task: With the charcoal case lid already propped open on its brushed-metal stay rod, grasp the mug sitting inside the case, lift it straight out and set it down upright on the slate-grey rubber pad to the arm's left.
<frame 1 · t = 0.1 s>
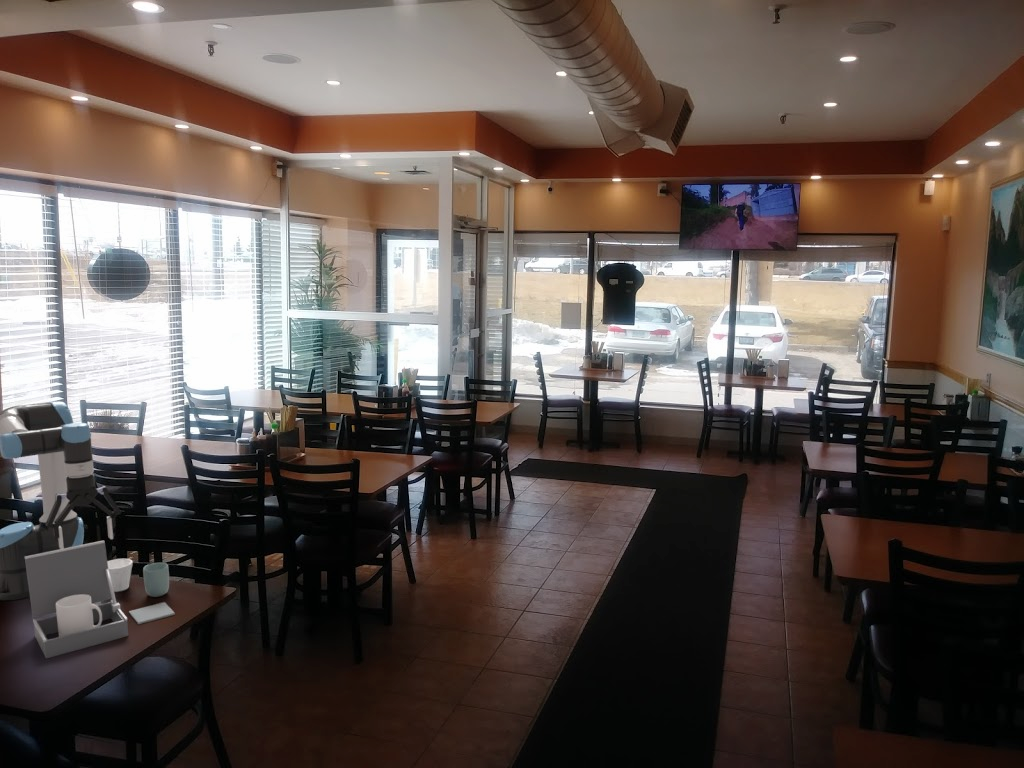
hand: (86, 543, 246), 28 cm above the table, fingers open, 13 cm apart
light bulb box: (82, 612, 264), on the table
pad: (151, 613, 261), on the table
case: (81, 636, 246), on the table
cup: (157, 595, 277), on the table
lid: (69, 578, 252), point 15 cm above the table, hinge at 100.0°
cup 2: (119, 589, 282), on the table
mug: (81, 637, 246), resting in case
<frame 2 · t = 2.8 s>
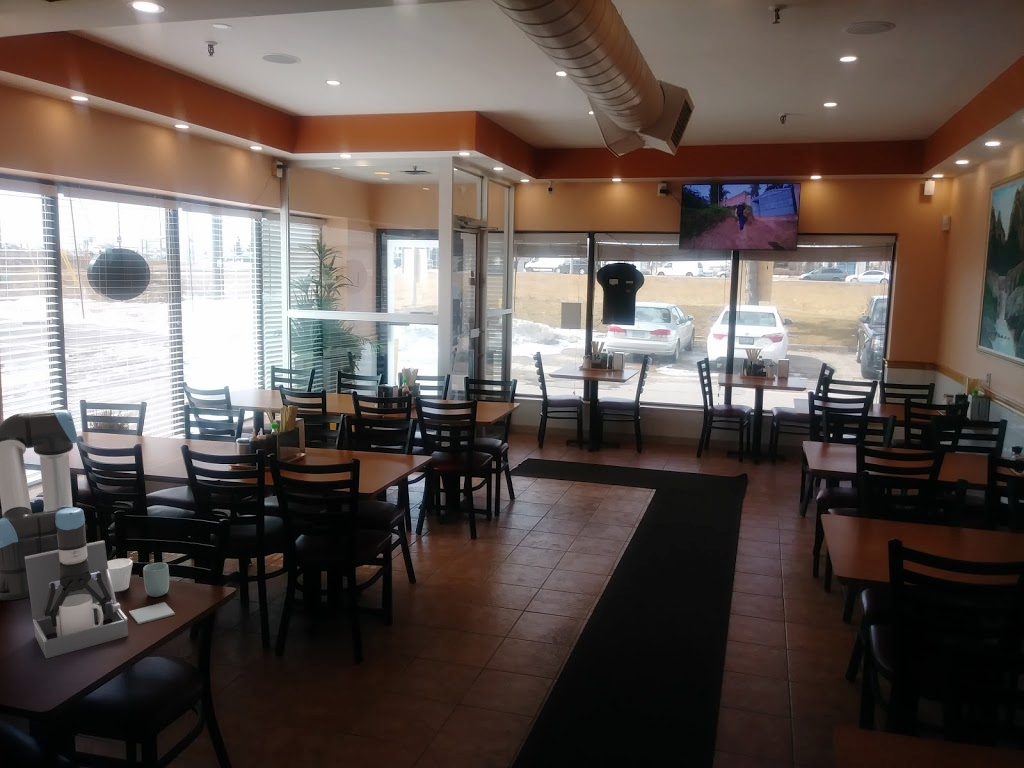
hand: (80, 630, 245), 2 cm above the table, fingers closed on mug, 11 cm apart
mug: (83, 636, 246), resting in case, touching gripper
everything else where it was.
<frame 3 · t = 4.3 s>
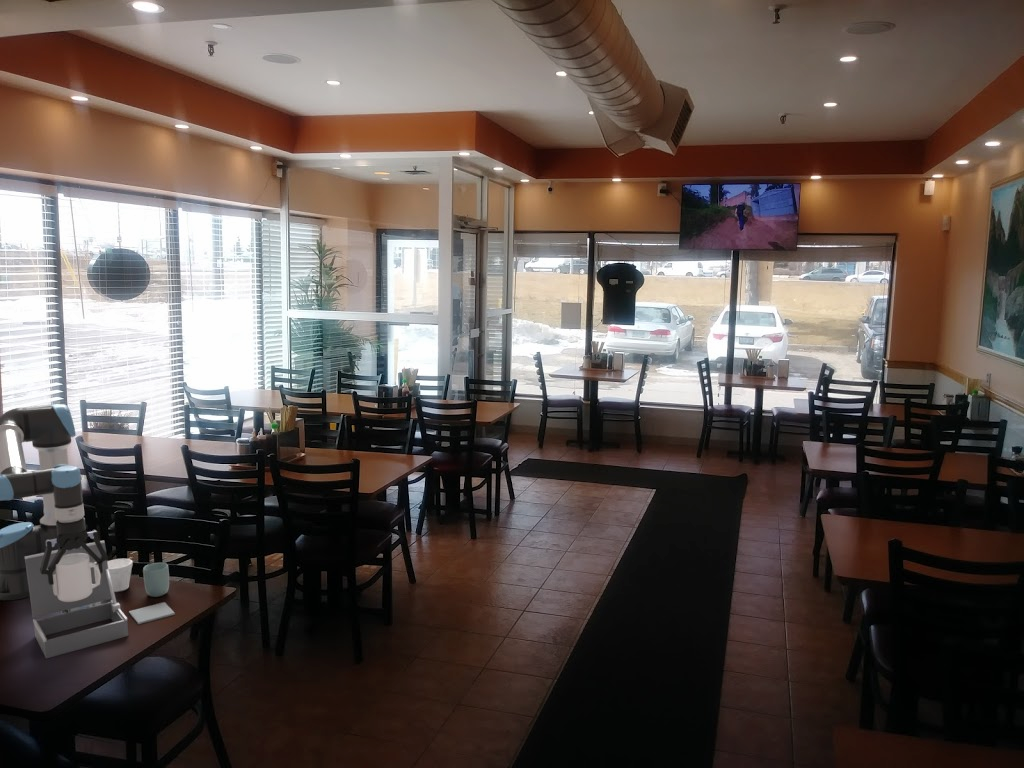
hand: (77, 588, 244), 15 cm above the table, fingers closed on mug, 11 cm apart
mug: (80, 595, 245), point 13 cm above the table, touching gripper
everything else where it was.
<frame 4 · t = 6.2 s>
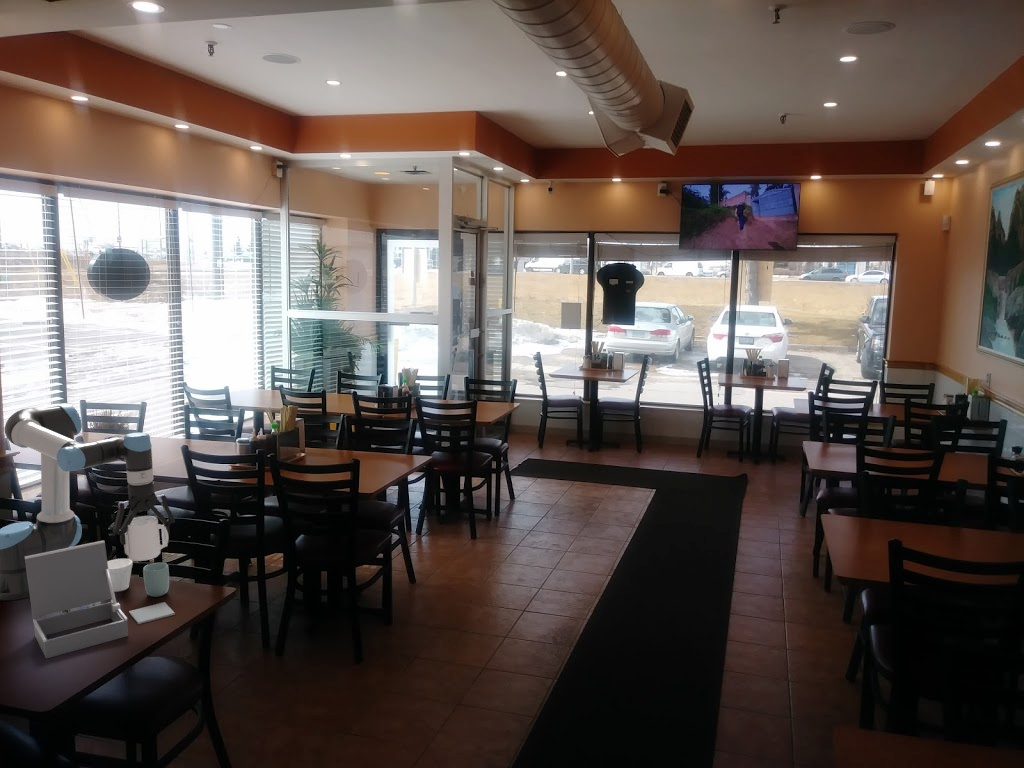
hand: (146, 549, 258), 22 cm above the table, fingers closed on mug, 11 cm apart
mug: (149, 556, 259), point 19 cm above the table, touching gripper
everything else where it was.
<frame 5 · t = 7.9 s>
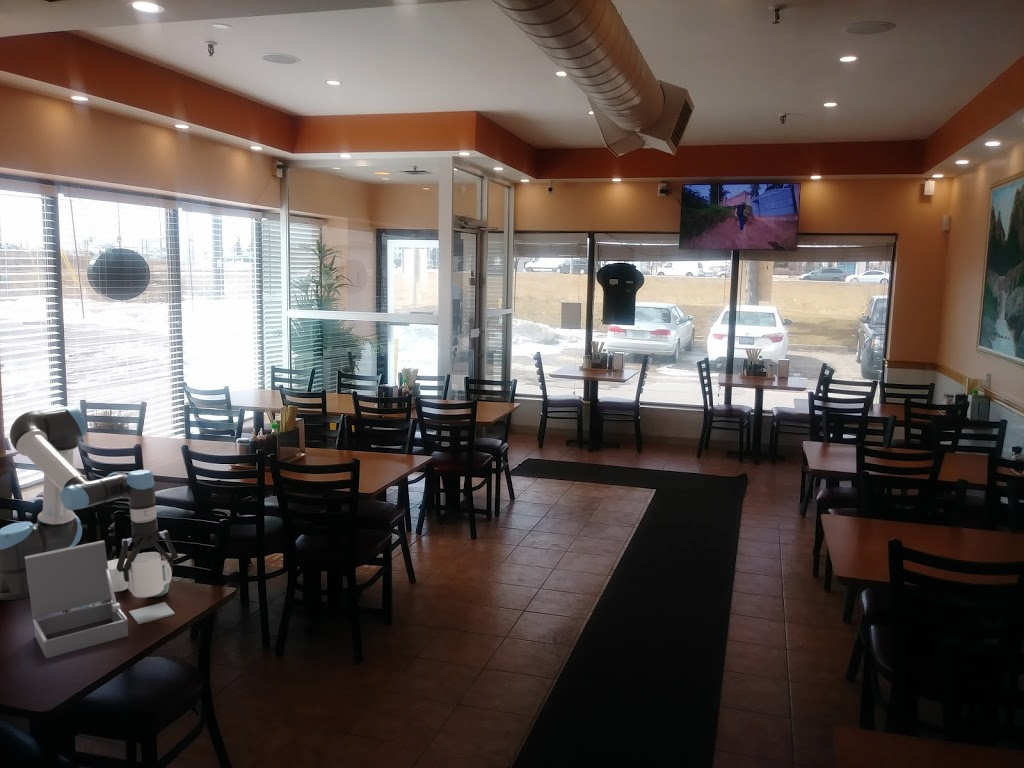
hand: (149, 585, 260), 10 cm above the table, fingers closed on mug, 11 cm apart
mug: (152, 592, 261), point 7 cm above the table, touching gripper
everything else where it was.
when the fingers open (3 cm above the table, at t = 9.5 s): mug stays where it is, resting on pad.
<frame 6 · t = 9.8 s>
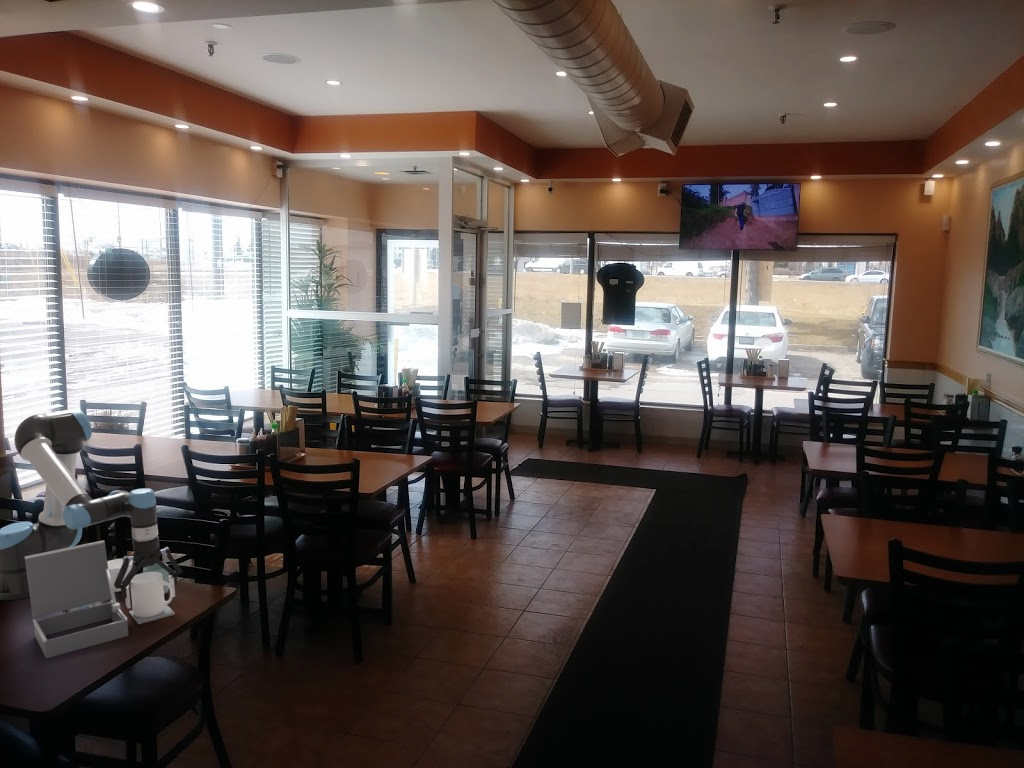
hand: (150, 601, 261), 4 cm above the table, fingers open, 13 cm apart
mug: (153, 612, 262), resting on pad
everything else where it was.
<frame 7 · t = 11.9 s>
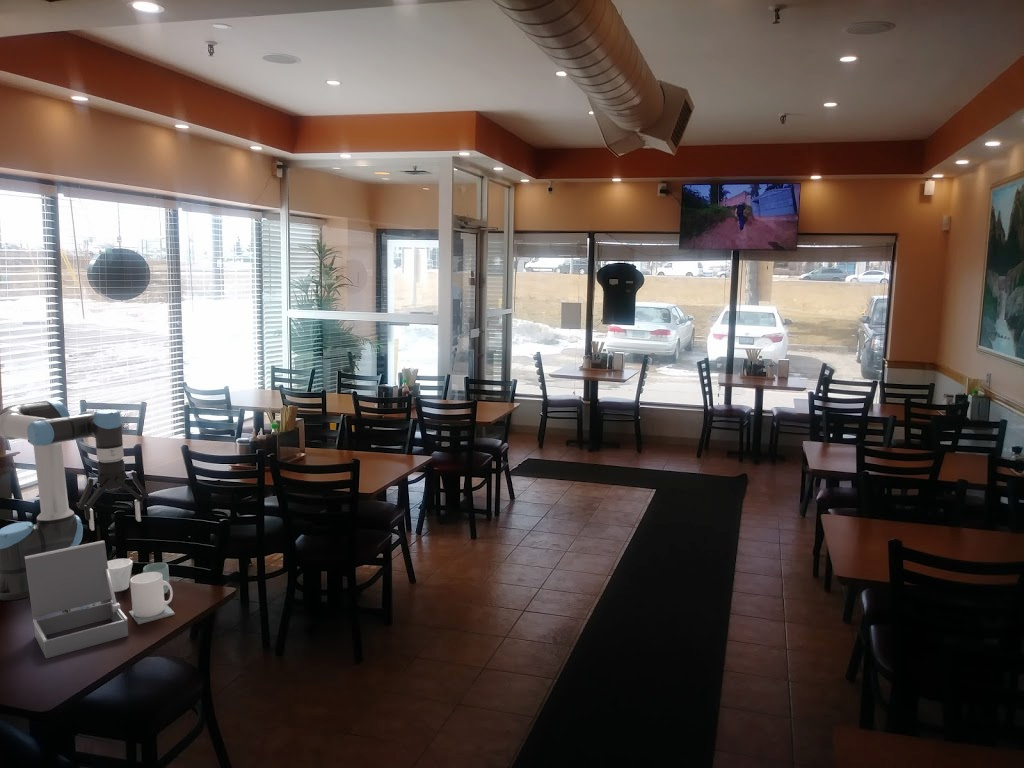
hand: (115, 524, 257), 30 cm above the table, fingers open, 13 cm apart
nothing on the table moved.
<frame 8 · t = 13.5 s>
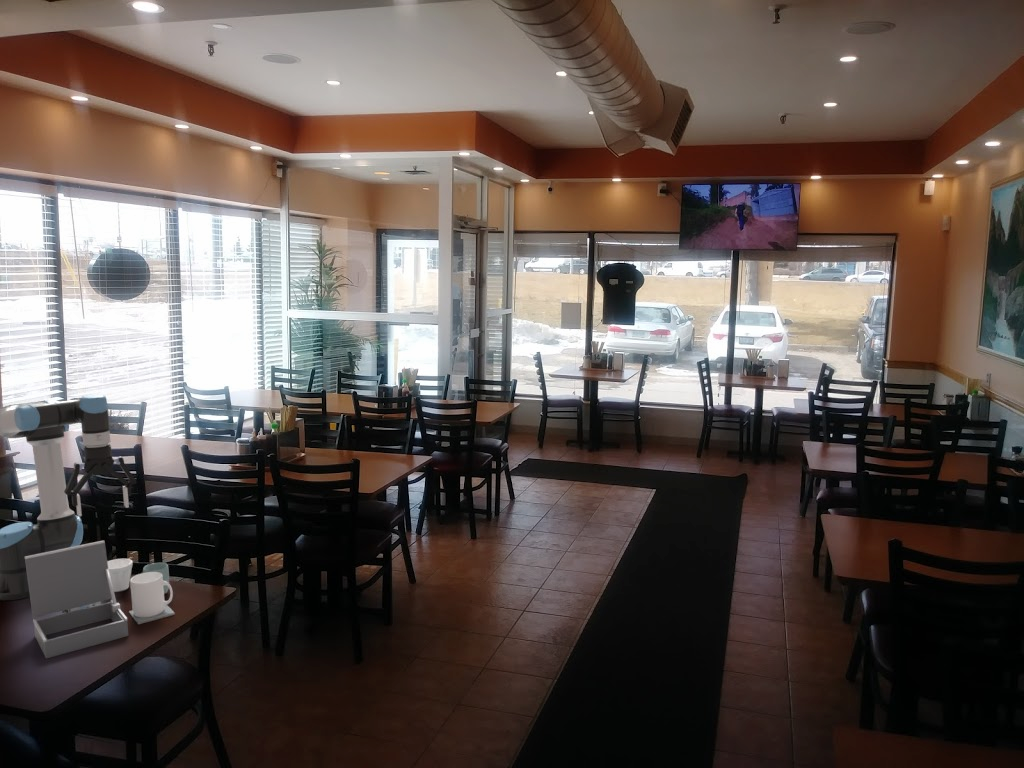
hand: (103, 511, 255), 35 cm above the table, fingers open, 13 cm apart
nothing on the table moved.
at the end: mug inside the target area (0.6 cm from its centre), resting on pad; mug tilted 0°; the gripper is holding nothing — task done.
